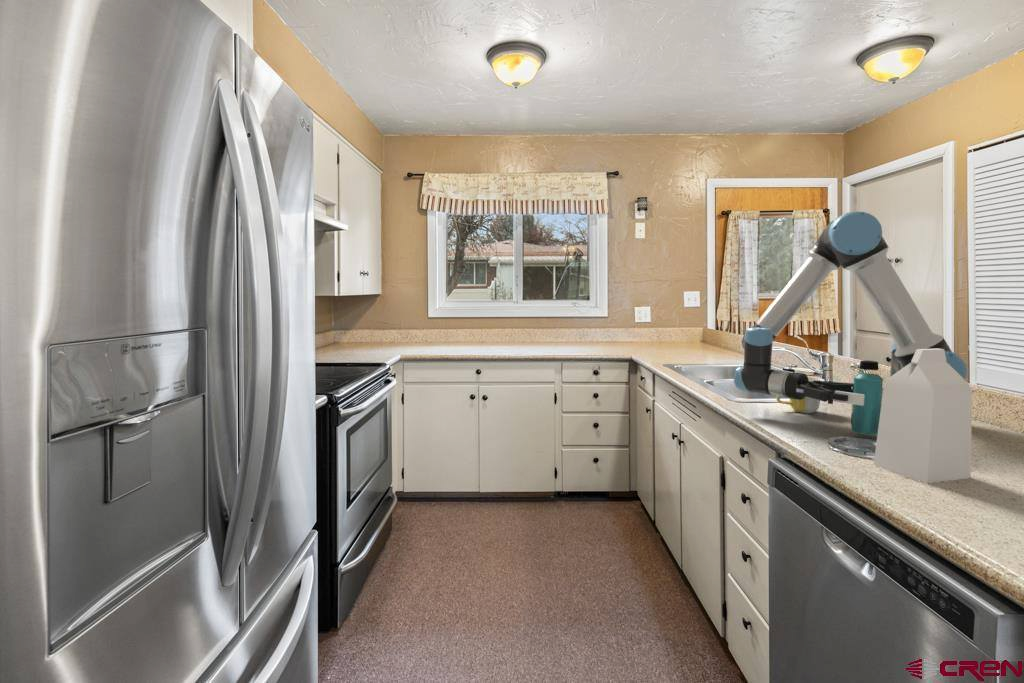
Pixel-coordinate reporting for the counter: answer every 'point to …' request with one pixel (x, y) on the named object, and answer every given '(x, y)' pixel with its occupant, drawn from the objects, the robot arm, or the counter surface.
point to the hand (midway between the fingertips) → (874, 396)
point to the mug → (804, 402)
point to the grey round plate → (853, 446)
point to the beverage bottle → (867, 400)
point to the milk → (926, 421)
